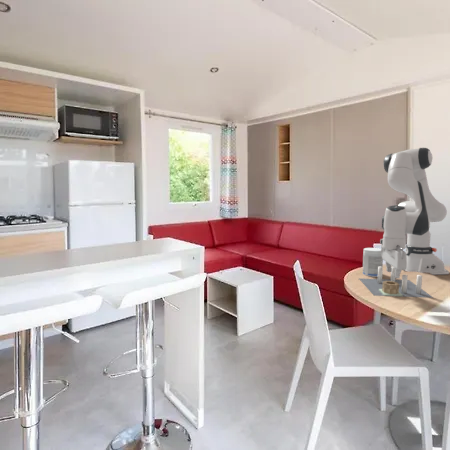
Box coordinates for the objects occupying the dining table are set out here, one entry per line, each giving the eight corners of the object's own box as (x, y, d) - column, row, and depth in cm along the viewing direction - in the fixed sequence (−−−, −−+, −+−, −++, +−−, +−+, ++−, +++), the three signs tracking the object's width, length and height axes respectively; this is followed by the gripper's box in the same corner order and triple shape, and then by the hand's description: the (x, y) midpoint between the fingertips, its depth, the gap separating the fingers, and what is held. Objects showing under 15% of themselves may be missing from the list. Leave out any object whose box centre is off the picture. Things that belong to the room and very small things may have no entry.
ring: (395, 289, 151) (395, 281, 150) (400, 294, 145) (400, 285, 144) (381, 289, 152) (381, 280, 151) (385, 293, 146) (385, 284, 145)
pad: (396, 290, 151) (396, 289, 151) (402, 296, 144) (402, 294, 144) (378, 290, 153) (378, 288, 152) (384, 295, 145) (384, 294, 145)
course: (408, 282, 168) (410, 264, 167) (433, 300, 142) (434, 279, 141) (358, 280, 171) (359, 263, 170) (373, 298, 146) (374, 277, 144)
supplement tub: (385, 277, 177) (387, 249, 176) (375, 280, 172) (376, 251, 170) (369, 273, 185) (370, 246, 184) (358, 275, 180) (359, 248, 178)
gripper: (411, 248, 135) (410, 282, 137) (393, 239, 155) (392, 268, 157) (395, 248, 136) (393, 281, 138) (379, 239, 156) (377, 268, 158)
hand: (392, 274), depth 147 cm, fingers open, 8 cm apart
